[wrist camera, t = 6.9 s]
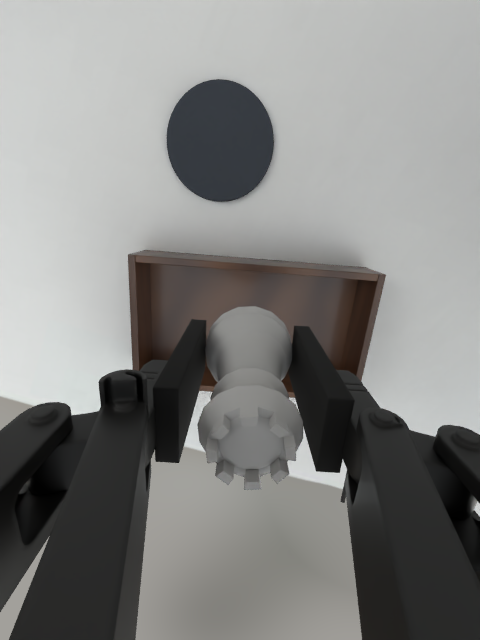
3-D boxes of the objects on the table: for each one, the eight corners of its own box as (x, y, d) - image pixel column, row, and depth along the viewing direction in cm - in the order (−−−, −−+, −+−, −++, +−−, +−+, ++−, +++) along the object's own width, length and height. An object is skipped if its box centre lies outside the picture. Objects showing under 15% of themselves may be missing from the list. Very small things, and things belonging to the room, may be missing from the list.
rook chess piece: (240, 394, 17) (235, 536, 9) (189, 335, 16) (137, 440, 8) (306, 351, 16) (362, 469, 8) (257, 286, 15) (271, 351, 7)
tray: (365, 267, 28) (386, 274, 24) (342, 379, 32) (356, 402, 28) (144, 250, 28) (127, 254, 24) (147, 365, 32) (133, 386, 28)
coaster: (286, 99, 24) (287, 97, 24) (257, 213, 27) (257, 213, 26) (178, 66, 23) (177, 64, 23) (159, 186, 26) (158, 185, 26)
